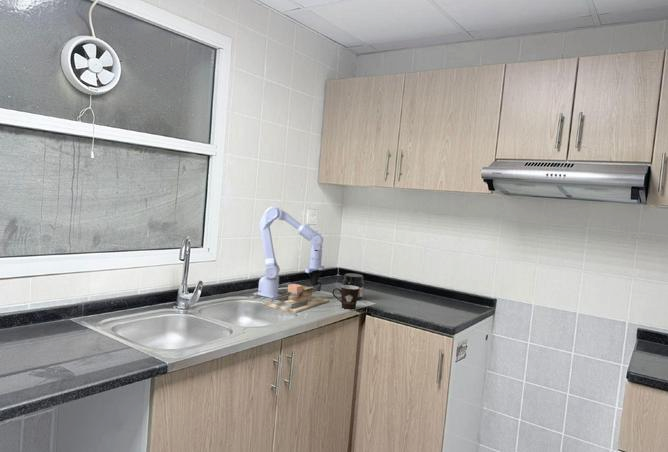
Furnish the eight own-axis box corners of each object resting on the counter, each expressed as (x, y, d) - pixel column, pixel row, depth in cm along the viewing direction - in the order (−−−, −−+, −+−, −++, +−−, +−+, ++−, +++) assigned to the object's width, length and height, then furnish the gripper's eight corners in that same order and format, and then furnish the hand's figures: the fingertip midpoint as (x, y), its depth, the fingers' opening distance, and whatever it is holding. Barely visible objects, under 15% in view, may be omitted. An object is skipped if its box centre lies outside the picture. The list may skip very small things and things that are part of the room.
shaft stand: (264, 305, 211) (265, 289, 210) (300, 295, 236) (301, 280, 235) (295, 312, 203) (296, 295, 202) (328, 301, 228) (330, 286, 227)
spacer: (287, 291, 215) (288, 285, 215) (293, 290, 220) (294, 283, 219) (296, 293, 213) (297, 287, 213) (302, 291, 217) (303, 285, 217)
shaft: (289, 295, 217) (290, 284, 217) (312, 289, 234) (312, 279, 234) (298, 297, 215) (299, 286, 214) (320, 291, 232) (321, 281, 231)
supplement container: (365, 300, 236) (367, 277, 236) (346, 300, 233) (348, 277, 232) (357, 295, 246) (359, 273, 245) (338, 295, 242) (340, 273, 241)
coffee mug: (360, 308, 219) (362, 287, 219) (352, 311, 212) (354, 290, 211) (339, 303, 225) (341, 283, 225) (330, 306, 218) (332, 285, 217)
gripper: (314, 260, 221) (312, 289, 222) (330, 258, 233) (328, 284, 234) (302, 258, 224) (300, 286, 225) (318, 256, 237) (316, 282, 238)
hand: (313, 285), depth 230 cm, fingers closed
